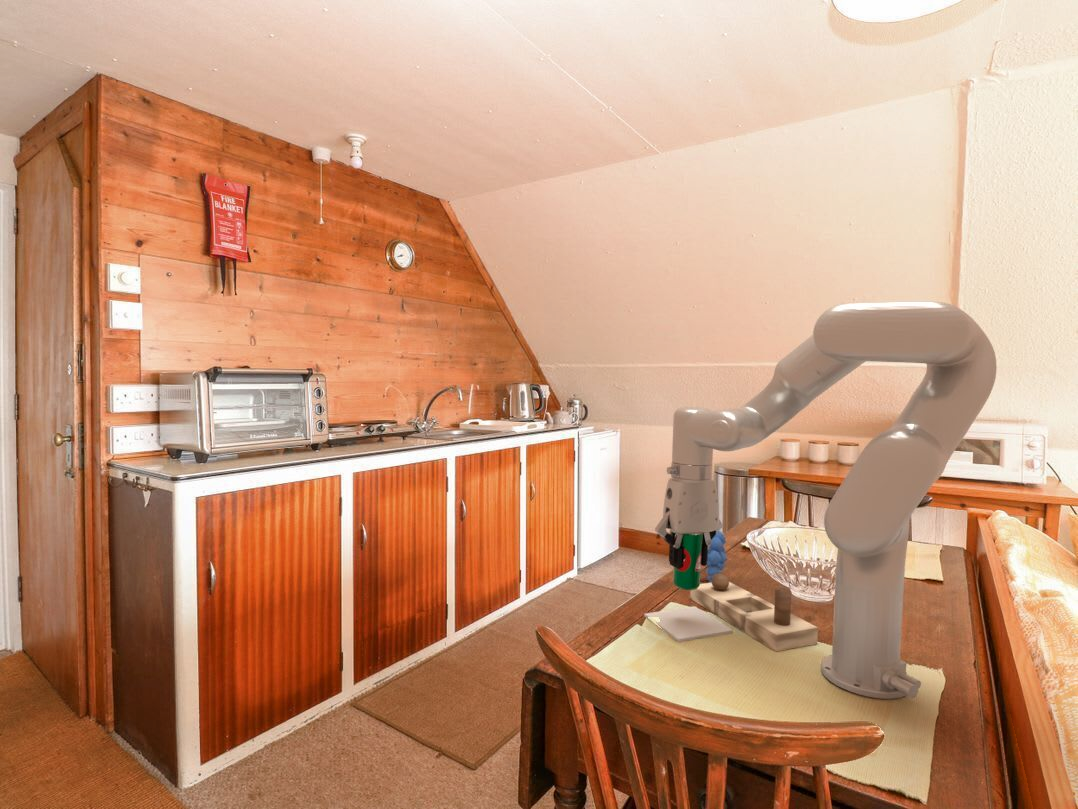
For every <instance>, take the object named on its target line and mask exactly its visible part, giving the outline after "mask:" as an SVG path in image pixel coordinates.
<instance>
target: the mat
mask: <svg viewBox="0 0 1078 809" xmlns="http://www.w3.org/2000/svg"><path fill="white" fill-rule="evenodd" d="M643 617H645V619H647V618H648V617H659V619H660V622H658V623H657V622H656V623H657V624H658V625H659V626H660V627H661V628H662V629H663V630H664V631H663V630H662V629H661V628H660V629H661V630H662V631H663V632H665V633H666V634H667V635H669V636H670V637H671V638H672V639H674V640H675V641H676V642H678V643H680V642H685V641H691V640H698V639H702V638H708V637H717V636H721V635H727V634H732V633H733V632H734V630H733V629H732V628H730V627H729V626H727V625H725V624H724V623H722V622H720V620H717V619H716V618H714V617H713V616H711V615H710V614H708V613H706V612H704V611H703V610H702V609H700V608H698V607H697V606H695V605H694V606H687V607H681V608H679V607H678V608H674V609H667V610H660V611H654V612H646V613H643Z"/></svg>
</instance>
